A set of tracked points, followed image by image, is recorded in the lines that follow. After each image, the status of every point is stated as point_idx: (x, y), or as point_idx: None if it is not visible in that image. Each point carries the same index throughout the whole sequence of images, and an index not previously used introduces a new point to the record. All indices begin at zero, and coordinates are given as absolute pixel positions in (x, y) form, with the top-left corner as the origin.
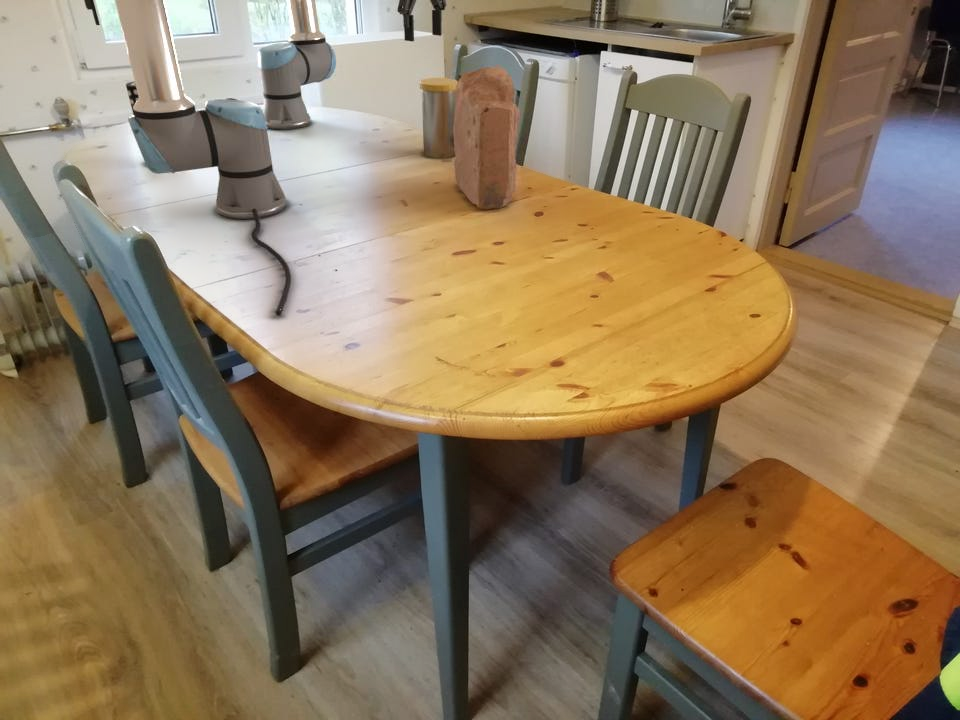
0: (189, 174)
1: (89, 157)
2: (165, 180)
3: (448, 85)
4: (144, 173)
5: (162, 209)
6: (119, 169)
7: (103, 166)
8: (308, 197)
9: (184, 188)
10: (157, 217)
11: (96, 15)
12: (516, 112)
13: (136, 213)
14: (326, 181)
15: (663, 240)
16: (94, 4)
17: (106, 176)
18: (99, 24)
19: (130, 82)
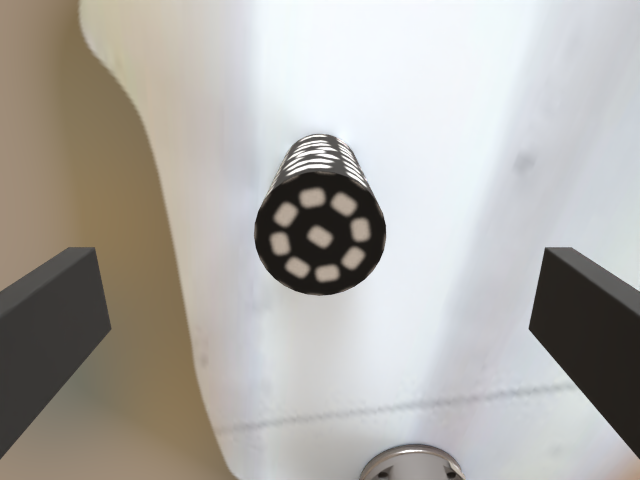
0: (358, 288)
1: (144, 32)
2: (308, 305)
3: None
4: None
5: (284, 439)
6: (221, 186)
7: (185, 142)
8: (502, 477)
9: (333, 363)
10: (273, 464)
11: (66, 373)
12: None
13: (245, 439)
14: (568, 426)
15: None
16: (9, 448)
17: (194, 227)
18: (107, 332)
19: (273, 195)
